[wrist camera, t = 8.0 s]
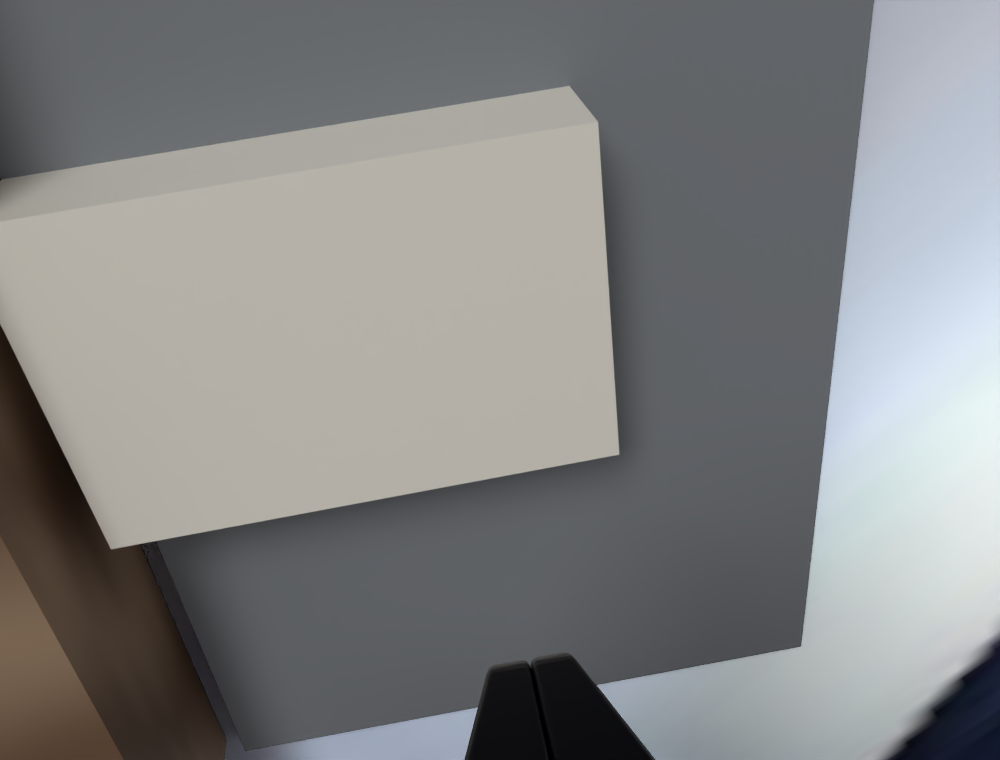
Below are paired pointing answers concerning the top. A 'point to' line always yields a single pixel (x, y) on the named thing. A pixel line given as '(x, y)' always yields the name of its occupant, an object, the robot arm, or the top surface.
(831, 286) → the mat
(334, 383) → the thick cream block
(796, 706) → the top surface
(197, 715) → the flat brown block
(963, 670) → the top surface
